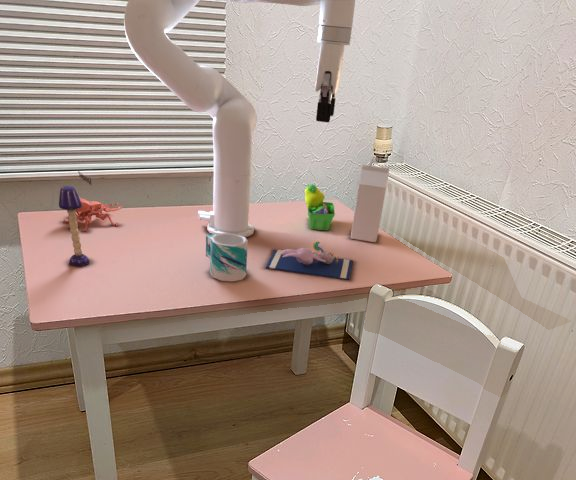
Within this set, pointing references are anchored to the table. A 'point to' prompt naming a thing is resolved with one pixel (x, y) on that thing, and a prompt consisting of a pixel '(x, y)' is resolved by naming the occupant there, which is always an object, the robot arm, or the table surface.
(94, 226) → the table surface
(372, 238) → the milk carton
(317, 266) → the cloth
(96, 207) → the beetle
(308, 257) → the rabbit figure
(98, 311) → the table surface
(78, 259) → the toy lamp
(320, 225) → the fruit basket
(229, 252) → the mug
